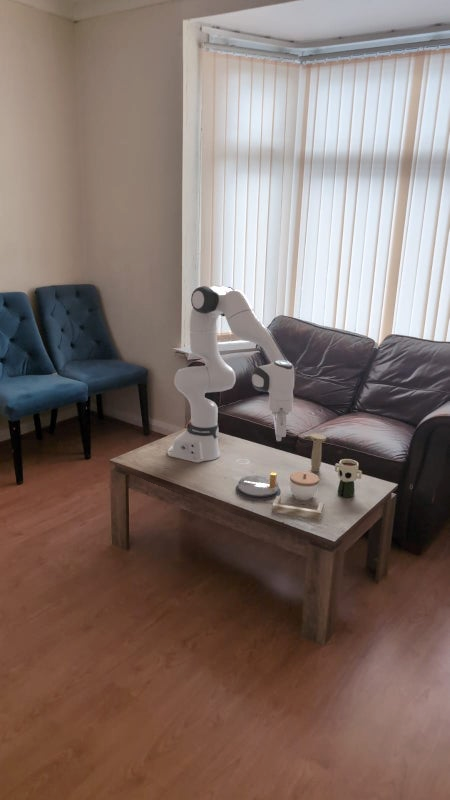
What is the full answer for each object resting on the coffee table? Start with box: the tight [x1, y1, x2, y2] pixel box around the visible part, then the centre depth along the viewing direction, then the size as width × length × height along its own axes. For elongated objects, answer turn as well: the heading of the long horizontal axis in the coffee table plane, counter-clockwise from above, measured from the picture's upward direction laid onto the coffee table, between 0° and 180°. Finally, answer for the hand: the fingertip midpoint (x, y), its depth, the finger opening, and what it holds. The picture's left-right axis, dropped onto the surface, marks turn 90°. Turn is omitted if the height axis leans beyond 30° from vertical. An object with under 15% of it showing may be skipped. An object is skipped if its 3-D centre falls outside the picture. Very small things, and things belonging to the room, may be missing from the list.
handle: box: [309, 433, 327, 473], centre depth 250 cm, size 5×6×15 cm
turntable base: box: [235, 484, 282, 502], centre depth 232 cm, size 17×17×1 cm
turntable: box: [237, 472, 279, 498], centre depth 231 cm, size 15×15×7 cm
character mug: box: [334, 458, 363, 498], centre depth 230 cm, size 11×7×13 cm, turn 51°
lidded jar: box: [289, 471, 320, 501], centre depth 228 cm, size 11×11×9 cm
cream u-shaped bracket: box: [271, 495, 325, 520], centre depth 218 cm, size 17×8×2 cm, turn 74°
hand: (278, 439), depth 231 cm, fingers closed
